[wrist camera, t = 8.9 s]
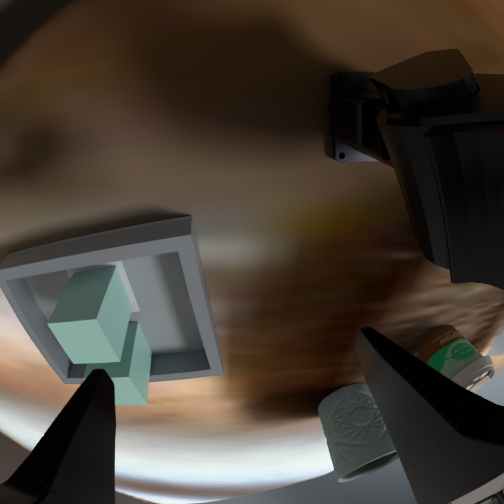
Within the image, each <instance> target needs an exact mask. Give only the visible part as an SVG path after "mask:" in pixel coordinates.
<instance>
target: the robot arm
mask: <svg viewBox="0 0 504 504" xmlns="http://www.w3.org/2000/svg"><path fill="white" fill-rule="evenodd" d="M337 76H339V77H340V78H341V80H340V82H338V81H337V79H336V78H337ZM331 95H332V98H331V99H330V100H329V114H330V135H331V136H332V137H333V156H334V159H335V160H336V161H338V162H341V163H344V162H365V161H380V162H382V163H384V164H387V165H389V166H391V167H393V168H394V170H395V173H396V176H397V179H398V182H399V185H400V188H401V191H402V194H403V198H404V201H405V204H406V208H407V211H408V215H409V219H410V223H411V226H412V230H413V234H414V238H415V240H416V242H417V243H418V245H419V247H420V248H421V250H422V251H423V252H424V256H425V258H427V259H428V260H430V261H431V262H432V263H434V264H436V265H438V266H441V267H443V268H446V269H449V270H450V277H451V282H452V283H454V284H456V283H466V282H476V283H484V284H489V285H492V286H495V287H498V288H500V289H502V290H504V75H502V74H473V70H472V68H471V67H470V65H469V64H468V62H467V61H466V60H465V58H464V57H463V55H462V54H461V53H460V51H459V50H458V49H450V50H439V51H430V52H425V53H423V54H420V55H417V56H415V57H412V58H410V59H407V60H405V61H403V62H400V63H398V64H395V65H393V66H391V67H388V68H386V69H384V70H381V71H379V72H377V73H375V74H373V75H370V74H361V73H349V72H334V73H333V74H332V75H331ZM341 152H342V153H343V156H342V157H341V158H339V154H340V153H341ZM355 350H356V353H357V356H358V359H359V362H360V365H361V368H362V371H363V374H364V377H365V380H366V383H367V385H368V388H369V390H370V392H371V394H372V397H373V399H374V401H375V403H376V405H377V408H378V410H379V412H380V414H381V417H382V419H383V421H384V423H385V426H386V428H387V430H388V432H389V435H390V437H391V439H392V442H393V444H394V446H395V449H396V451H397V454H398V456H399V458H400V461H401V463H402V466H403V468H404V470H405V473H406V475H407V478H408V480H409V483H410V486H411V488H412V491H413V493H414V496H415V499H416V501H417V504H448V503H450V502H452V504H504V406H500V405H497V404H495V403H493V402H491V401H489V400H487V399H485V398H483V397H481V396H479V395H477V394H474V393H473V392H471V391H469V390H467V389H466V388H464V387H462V386H460V385H459V384H457V383H455V382H454V381H452V380H451V379H449V378H448V377H446V376H444V375H442V374H441V373H440V372H438V371H437V370H435V369H434V368H432V367H431V366H429V365H428V364H426V363H425V362H423V361H422V360H420V359H419V358H417V357H416V356H414V355H413V354H411V353H409V352H408V351H406V350H405V349H403V348H402V347H400V346H399V345H397V344H396V343H394V342H393V341H391V340H390V339H388V338H387V337H385V336H384V335H382V334H381V333H379V332H378V331H376V330H375V329H373V328H371V327H364V328H361V329H359V330H358V333H357V338H356V342H355ZM115 434H116V412H115V386H114V382H113V380H112V379H111V378H110V376H109V375H108V373H107V372H106V370H105V369H103V368H96V369H93V370H92V371H91V372H90V374H89V375H88V376H87V377H86V379H85V380H84V381H83V383H82V384H81V385H80V387H79V388H78V389H77V390H76V392H75V393H74V394H73V396H72V397H71V398H70V400H69V401H68V402H67V404H66V405H65V406H64V408H63V409H62V410H61V412H60V413H59V414H58V416H57V417H56V418H55V420H54V421H53V423H52V424H51V425H50V427H49V428H48V430H47V431H46V432H45V434H44V436H42V438H41V439H40V441H39V442H38V443H37V445H36V446H35V447H34V449H33V450H32V452H31V453H30V454H29V455H28V457H27V458H26V459H25V460H24V461H23V462H22V464H21V465H20V466H19V467H18V468H17V470H16V471H15V472H14V473H13V475H11V476H10V478H9V479H8V480H6V481H5V482H3V483H1V484H0V504H115Z"/></svg>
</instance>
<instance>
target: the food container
mask: <svg viewBox="0 0 504 504" xmlns="http://www.w3.org/2000/svg"><path fill="white" fill-rule="evenodd" d="M411 354H413V355H414V356H416V357H417V358H419V359H420V360H422V361H423V362H425V363H426V364H428V365H429V366H431V367H432V368H434V369H435V370H437V371H438V372H440V373H441V374H442V375H444V376H446V377H448V378H449V379H451V380H452V381H454V382H455V383H457V384H459V385H460V386H462V387H464V388H466V389H467V390H470V389H471V388H472V387H473V386H474V385H475V384H476V383H478V382H479V381H480V380H482V379H483V378H484V377H486V376H487V375H489V377H490V378H491V379H492V377H493V376H494V373H495V370H494V365H493V362H492V360H491V358H490V356H482V355H481V354H480V353H479V352H478V351H477V350H476V349H475V348H474V347H473V346H472V345H471V344H470V343H469V342H468V341H467V340H466V339H465V338H464V337H463V336H462V335H461V334H460V333H459V332H458V331H457V330H456V329H455V328H454V327H453V326H452V325H445V326H441V327H439V328H437V329H436V330H434V331H432V332H431V333H430V334H428V335H427V336H426V337H425V338H424V339H423V340H421V341H420V342H419V343H418V344H417V346H416V347H415V348H414V349H413V351H412V352H411Z"/></svg>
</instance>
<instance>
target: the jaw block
mask: <svg viewBox="0 0 504 504" xmlns="http://www.w3.org/2000/svg"><path fill="white" fill-rule="evenodd" d="M131 310H132V304H131V302H130V299H129V297H128V294H127V292H126V289H125V287H124V284H123V281H122V279H121V276H120V274H119V271H118V268H117V266H111V267H105V268H99V269H93V270H87V271H81V272H75V273H73V275H72V277H71V279H70V280H69V282H68V284H67V286H66V288H65V289H64V291H63V293H62V295H61V297H60V299H59V301H58V303H57V305H56V307H55V309H54V311H53V313H52V315H51V317H50V319H49V321H48V323H47V324H48V326H49V328H50V329H51V331H52V332H53V334H54V336H55V337H56V339H57V340H58V342H59V343H60V345H61V346H62V348H63V349H64V351H65V352H66V354H67V355H68V357H69V358H70V360H71V361H72V362H73V364H84V363H108V362H120V361H121V355H122V350H123V345H124V341H125V336H126V331H127V327H128V322H129V318H130V314H131Z"/></svg>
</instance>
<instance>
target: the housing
mask: <svg viewBox="0 0 504 504" xmlns="http://www.w3.org/2000/svg"><path fill="white" fill-rule="evenodd" d="M111 266H117V268H118V271H119V274H120V276H121V279H122V281H123V284H124V287H125V289H126V292H127V294H128V297H129V299H130V302H131V304H132V310H131V314H130V318H129V322H128V327H127V331H126V336H125V341H124V345H123V350H122V355H121V361H120V362H108V363H84V364H73V362H72V361H71V360H70V358H69V357H68V355H67V354H66V352H65V351H64V349H63V348H62V346H61V345H60V343H59V342H58V340H57V339H56V337H55V336H54V334H53V332H52V331H51V329H50V328H49V326H48V324H47V323H48V321H49V319H50V317H51V315H52V313H53V311H54V309H55V307H56V305H57V303H58V301H59V299H60V297H61V295H62V293H63V291H64V289H65V288H66V286H67V284H68V282H69V280H70V279H71V277H72V275H73V273H75V272H81V271H87V270H93V269H99V268H105V267H111ZM0 287H1V289H2V291H3V293H4V294H5V296H6V298H7V300H8V302H9V304H10V305H11V307H12V309H13V310H14V312H15V314H16V316H17V317H18V319H19V321H20V322H21V324H22V325H23V327H24V329H25V330H26V332H27V333H28V335H29V336H30V338H31V339H32V341H33V342H34V344H35V345H36V347H37V348H38V349H39V351H40V352H41V354H42V355H43V356H44V358H45V359H46V361H47V362H48V363H49V365H50V366H51V367H52V369H53V370H54V371H55V372H56V374H57V375H58V376H59V378H60V379H61V380H62V381H63V382H64V384H82V383H83V381H84V380H85V379H86V377H87V376H88V375H89V374H90V372H91V371H92V370H93V369H96V368H103V369H105V370H106V372H107V373H108V375H109V376H110V378H111V379H112V380H113V382H114V386H115V405H147V402H148V389H149V382H158V381H170V380H181V379H190V378H199V377H207V376H215V375H222V374H224V370H223V362H222V353H221V348H220V343H219V339H218V335H217V331H216V327H215V323H214V318H213V314H212V310H211V305H210V301H209V297H208V292H207V287H206V283H205V278H204V273H203V269H202V264H201V259H200V254H199V249H198V244H197V239H196V234H195V229H194V223H193V218H192V216H186V217H180V218H174V219H168V220H162V221H157V222H151V223H145V224H140V225H135V226H129V227H124V228H119V229H114V230H109V231H104V232H99V233H94V234H89V235H84V236H79V237H75V238H70V239H65V240H61V241H56V242H52V243H47V244H43V245H39V246H35V247H30V248H26V249H22V250H18V251H14V252H10V253H8V255H7V256H6V257H5V258H4V259H3V260H2V261H1V263H0Z"/></svg>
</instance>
